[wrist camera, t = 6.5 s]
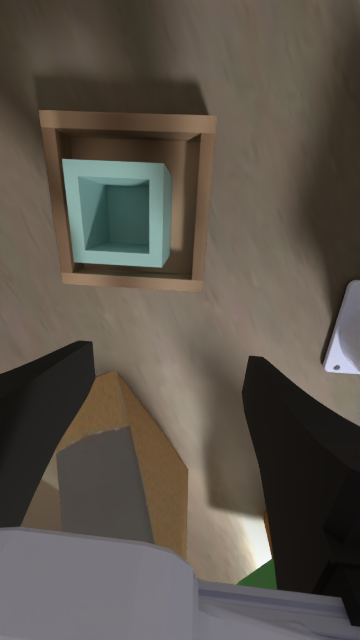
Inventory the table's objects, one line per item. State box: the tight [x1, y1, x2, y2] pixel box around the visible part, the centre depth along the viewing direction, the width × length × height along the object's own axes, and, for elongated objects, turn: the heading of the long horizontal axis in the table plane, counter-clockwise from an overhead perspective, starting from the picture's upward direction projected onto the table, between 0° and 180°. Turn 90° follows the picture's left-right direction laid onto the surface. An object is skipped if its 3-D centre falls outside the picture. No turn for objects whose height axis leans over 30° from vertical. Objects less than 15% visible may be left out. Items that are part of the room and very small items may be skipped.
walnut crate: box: [39, 110, 217, 292], centre depth 17 cm, size 10×10×2 cm
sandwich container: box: [56, 371, 188, 560], centre depth 20 cm, size 9×15×15 cm, turn 28°
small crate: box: [62, 159, 173, 268], centre depth 15 cm, size 5×5×5 cm
